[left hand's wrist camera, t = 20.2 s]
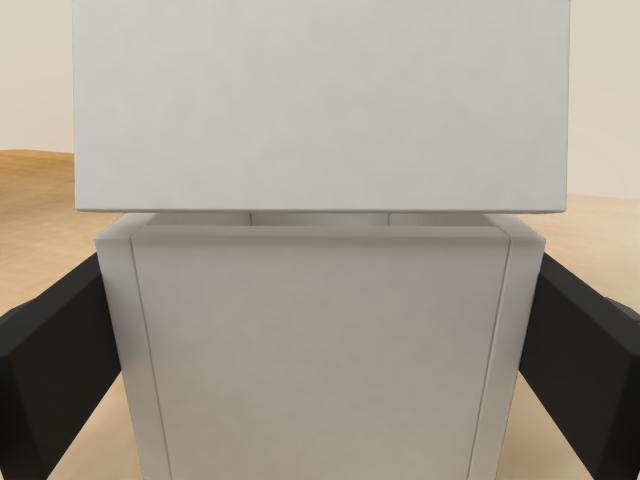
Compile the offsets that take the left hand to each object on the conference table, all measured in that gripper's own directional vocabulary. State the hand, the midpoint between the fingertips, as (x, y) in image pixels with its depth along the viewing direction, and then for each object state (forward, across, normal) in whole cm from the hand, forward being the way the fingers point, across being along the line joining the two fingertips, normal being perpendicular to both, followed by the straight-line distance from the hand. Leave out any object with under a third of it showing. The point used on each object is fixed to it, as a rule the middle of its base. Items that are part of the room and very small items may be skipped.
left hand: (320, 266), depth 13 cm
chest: (+5, 0, -6) cm, 8 cm away
